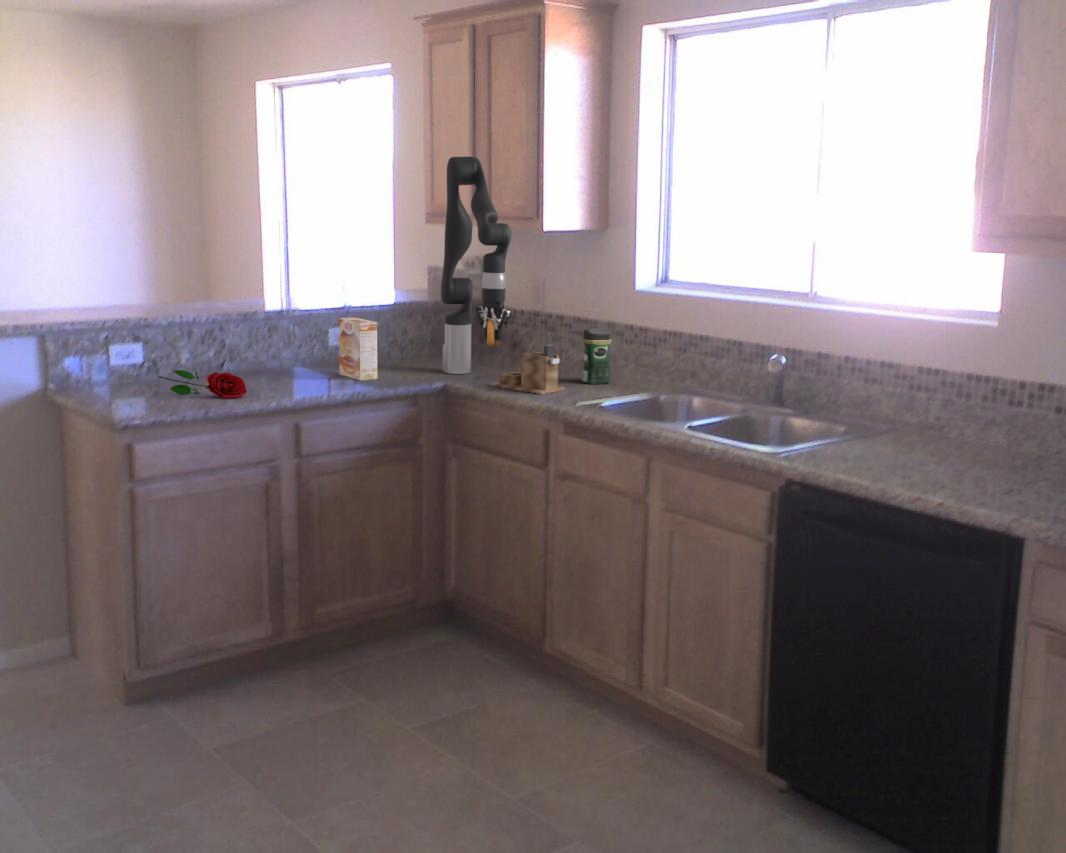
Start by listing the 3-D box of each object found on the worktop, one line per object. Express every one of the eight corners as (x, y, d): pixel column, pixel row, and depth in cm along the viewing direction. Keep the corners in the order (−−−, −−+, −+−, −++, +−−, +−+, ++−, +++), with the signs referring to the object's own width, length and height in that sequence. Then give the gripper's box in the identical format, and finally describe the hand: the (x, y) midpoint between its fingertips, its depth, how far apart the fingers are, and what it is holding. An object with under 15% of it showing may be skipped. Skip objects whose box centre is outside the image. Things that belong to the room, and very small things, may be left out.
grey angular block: (524, 359, 368) (524, 342, 367) (531, 358, 370) (531, 341, 369) (552, 364, 360) (553, 346, 359) (559, 363, 363) (559, 345, 362)
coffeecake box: (338, 374, 389) (338, 317, 385) (357, 373, 393) (356, 317, 389) (359, 380, 377) (359, 322, 373) (378, 379, 382) (378, 321, 378)
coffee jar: (605, 380, 390) (607, 326, 386) (613, 384, 383) (615, 329, 379) (578, 380, 388) (580, 326, 384) (585, 384, 380) (587, 329, 376)
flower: (153, 357, 345) (243, 370, 339) (167, 367, 354) (255, 380, 348) (145, 384, 342) (235, 398, 337) (159, 394, 351) (247, 408, 346)
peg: (484, 345, 365) (485, 320, 363) (492, 344, 367) (492, 319, 366) (492, 346, 362) (493, 321, 361) (500, 345, 365) (500, 320, 363)
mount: (491, 386, 373) (491, 350, 371) (515, 382, 382) (515, 347, 380) (540, 394, 360) (541, 357, 357) (564, 390, 369) (565, 354, 366)
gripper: (469, 285, 362) (468, 338, 366) (502, 289, 354) (501, 343, 357) (485, 284, 368) (484, 336, 372) (518, 287, 359) (516, 341, 363)
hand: (492, 339), depth 365 cm, fingers closed on peg, 3 cm apart
